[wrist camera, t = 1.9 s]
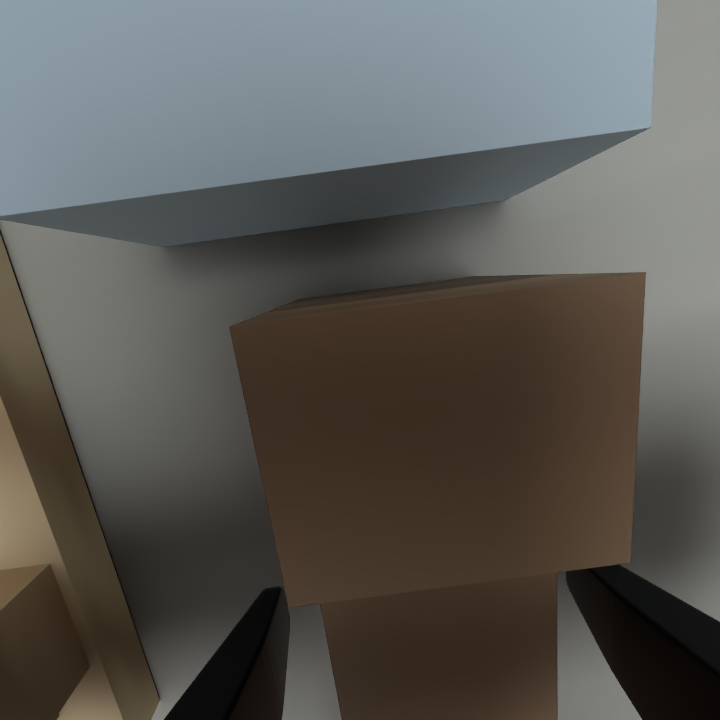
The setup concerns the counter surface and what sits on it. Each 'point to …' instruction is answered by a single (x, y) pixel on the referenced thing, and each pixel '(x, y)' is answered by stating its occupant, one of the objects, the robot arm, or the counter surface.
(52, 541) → the jig
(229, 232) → the light blue block
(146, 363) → the counter surface
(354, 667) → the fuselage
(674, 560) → the counter surface
